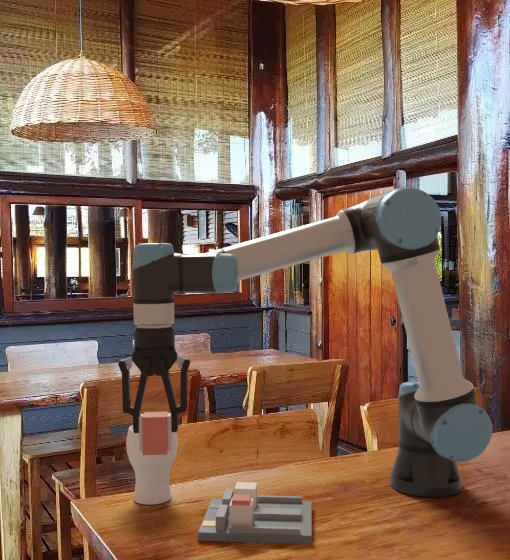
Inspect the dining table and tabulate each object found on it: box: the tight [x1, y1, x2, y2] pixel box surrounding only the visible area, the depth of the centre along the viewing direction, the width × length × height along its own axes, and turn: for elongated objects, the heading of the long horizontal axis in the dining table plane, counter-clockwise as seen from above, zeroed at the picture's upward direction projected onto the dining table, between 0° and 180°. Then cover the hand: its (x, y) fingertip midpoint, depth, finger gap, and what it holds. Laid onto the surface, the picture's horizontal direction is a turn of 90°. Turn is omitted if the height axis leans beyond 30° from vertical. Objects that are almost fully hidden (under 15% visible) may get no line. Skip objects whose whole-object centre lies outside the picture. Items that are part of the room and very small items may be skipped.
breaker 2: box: [229, 493, 253, 526], centre depth 123 cm, size 4×4×5 cm
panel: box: [197, 488, 313, 545], centre depth 127 cm, size 20×17×4 cm
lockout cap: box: [142, 411, 169, 455], centre depth 127 cm, size 4×4×7 cm
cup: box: [125, 424, 179, 506], centre depth 141 cm, size 11×11×15 cm
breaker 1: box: [234, 481, 258, 508], centre depth 132 cm, size 4×4×4 cm
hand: (156, 449), depth 127 cm, fingers closed on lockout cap, 4 cm apart
